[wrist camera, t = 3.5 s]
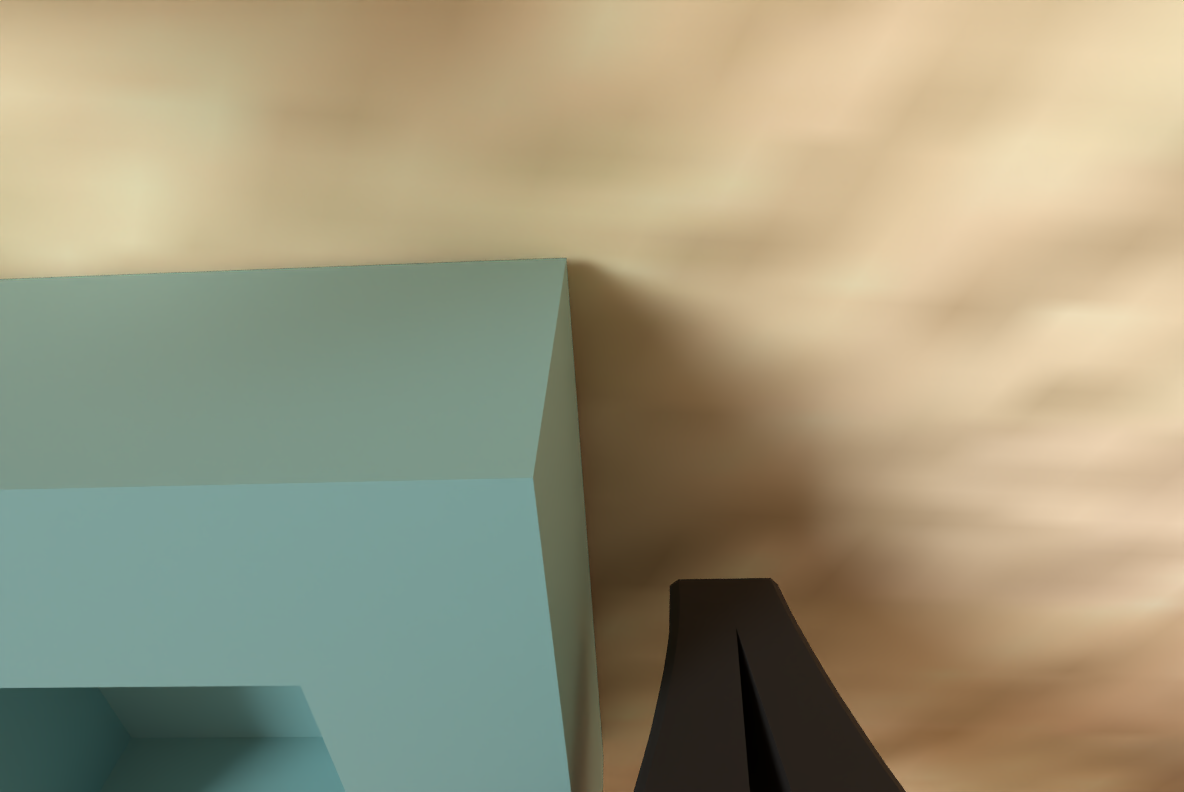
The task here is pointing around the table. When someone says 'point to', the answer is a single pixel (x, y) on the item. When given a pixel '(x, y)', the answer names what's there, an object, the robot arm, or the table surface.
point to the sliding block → (295, 533)
